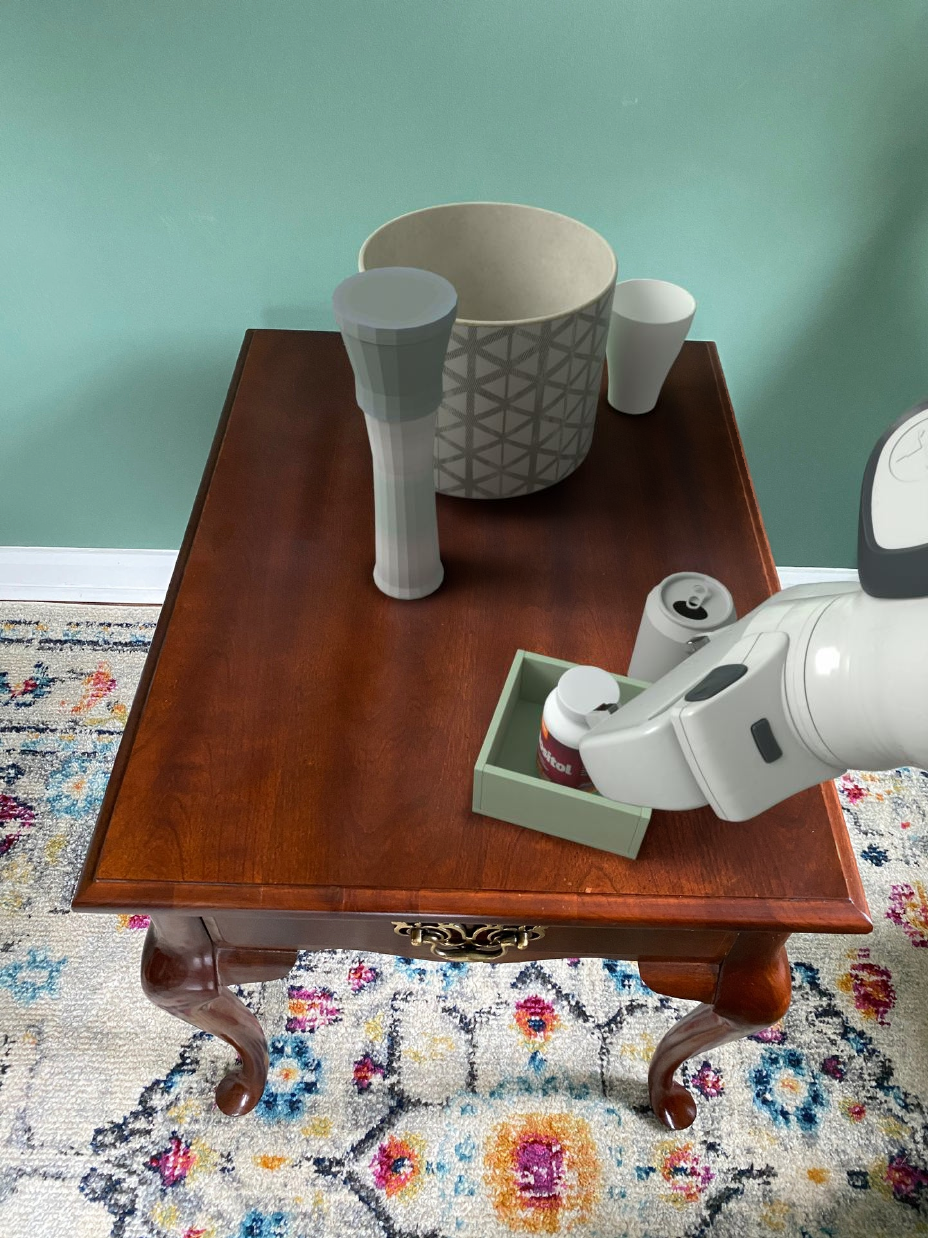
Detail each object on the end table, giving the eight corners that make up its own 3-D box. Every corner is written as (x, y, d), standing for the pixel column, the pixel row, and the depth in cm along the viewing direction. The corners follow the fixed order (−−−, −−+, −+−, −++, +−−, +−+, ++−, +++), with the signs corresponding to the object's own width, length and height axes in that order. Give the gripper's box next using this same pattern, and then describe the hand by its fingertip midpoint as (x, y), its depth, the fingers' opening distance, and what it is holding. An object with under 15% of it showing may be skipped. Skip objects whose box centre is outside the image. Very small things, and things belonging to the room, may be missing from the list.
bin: (660, 734, 75) (676, 689, 70) (635, 860, 67) (650, 819, 62) (513, 695, 77) (518, 648, 72) (472, 811, 70) (474, 768, 65)
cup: (587, 375, 112) (602, 276, 102) (668, 379, 112) (690, 279, 102) (592, 423, 105) (608, 322, 95) (678, 426, 105) (703, 325, 95)
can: (613, 699, 77) (636, 610, 68) (642, 643, 82) (666, 552, 73) (693, 732, 75) (727, 644, 66) (718, 673, 79) (753, 583, 70)
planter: (612, 422, 105) (646, 226, 87) (548, 552, 90) (573, 347, 72) (426, 376, 111) (422, 185, 93) (336, 491, 96) (310, 288, 78)
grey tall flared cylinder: (472, 564, 88) (481, 287, 66) (421, 622, 83) (411, 342, 61) (397, 530, 92) (380, 255, 69) (342, 584, 86) (305, 305, 64)
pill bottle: (521, 753, 73) (531, 673, 64) (583, 726, 75) (600, 645, 66) (559, 812, 69) (575, 735, 61) (623, 782, 71) (647, 704, 63)
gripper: (905, 541, 49) (727, 572, 61) (664, 729, 40) (513, 721, 52) (945, 639, 50) (762, 650, 62) (719, 844, 41) (557, 809, 53)
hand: (646, 684), depth 57 cm, fingers open, 8 cm apart
